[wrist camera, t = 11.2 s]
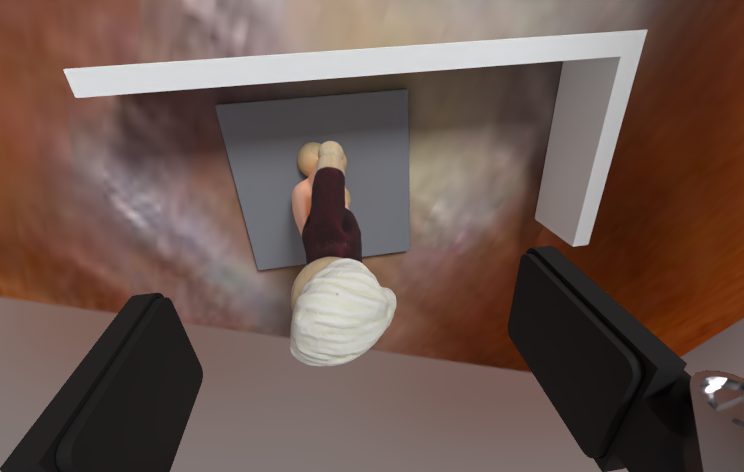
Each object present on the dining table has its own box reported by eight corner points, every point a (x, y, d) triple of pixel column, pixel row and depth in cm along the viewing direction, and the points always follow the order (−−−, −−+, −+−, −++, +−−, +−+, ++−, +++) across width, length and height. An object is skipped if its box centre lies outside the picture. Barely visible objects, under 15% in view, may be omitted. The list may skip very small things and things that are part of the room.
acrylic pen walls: (584, 34, 19) (647, 29, 15) (547, 217, 24) (588, 244, 20) (117, 66, 16) (63, 69, 13) (190, 262, 21) (165, 302, 18)
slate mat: (406, 89, 18) (408, 89, 18) (408, 247, 23) (409, 250, 23) (216, 104, 17) (214, 105, 17) (259, 266, 22) (258, 270, 22)
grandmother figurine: (270, 132, 18) (199, 251, 7) (340, 115, 18) (380, 204, 7) (312, 252, 22) (310, 453, 11) (370, 236, 22) (427, 420, 11)
